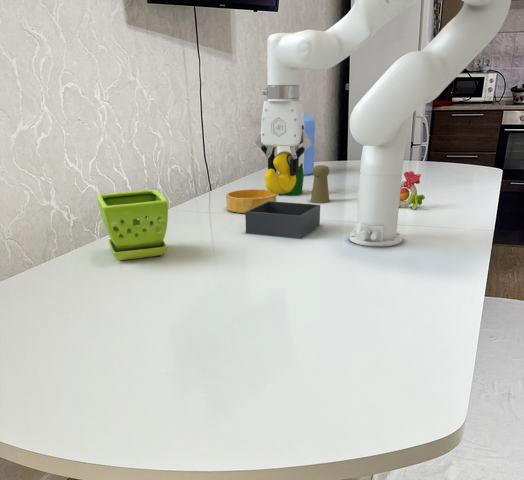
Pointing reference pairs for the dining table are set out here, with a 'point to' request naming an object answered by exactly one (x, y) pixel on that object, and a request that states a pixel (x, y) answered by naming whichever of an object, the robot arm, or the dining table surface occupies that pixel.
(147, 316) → the dining table surface
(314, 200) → the cork
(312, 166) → the water jug
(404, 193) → the bird rattle
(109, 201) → the flower pot
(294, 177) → the duckling
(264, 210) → the bin
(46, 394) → the dining table surface
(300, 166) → the milk carton
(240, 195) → the bowl
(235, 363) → the dining table surface
